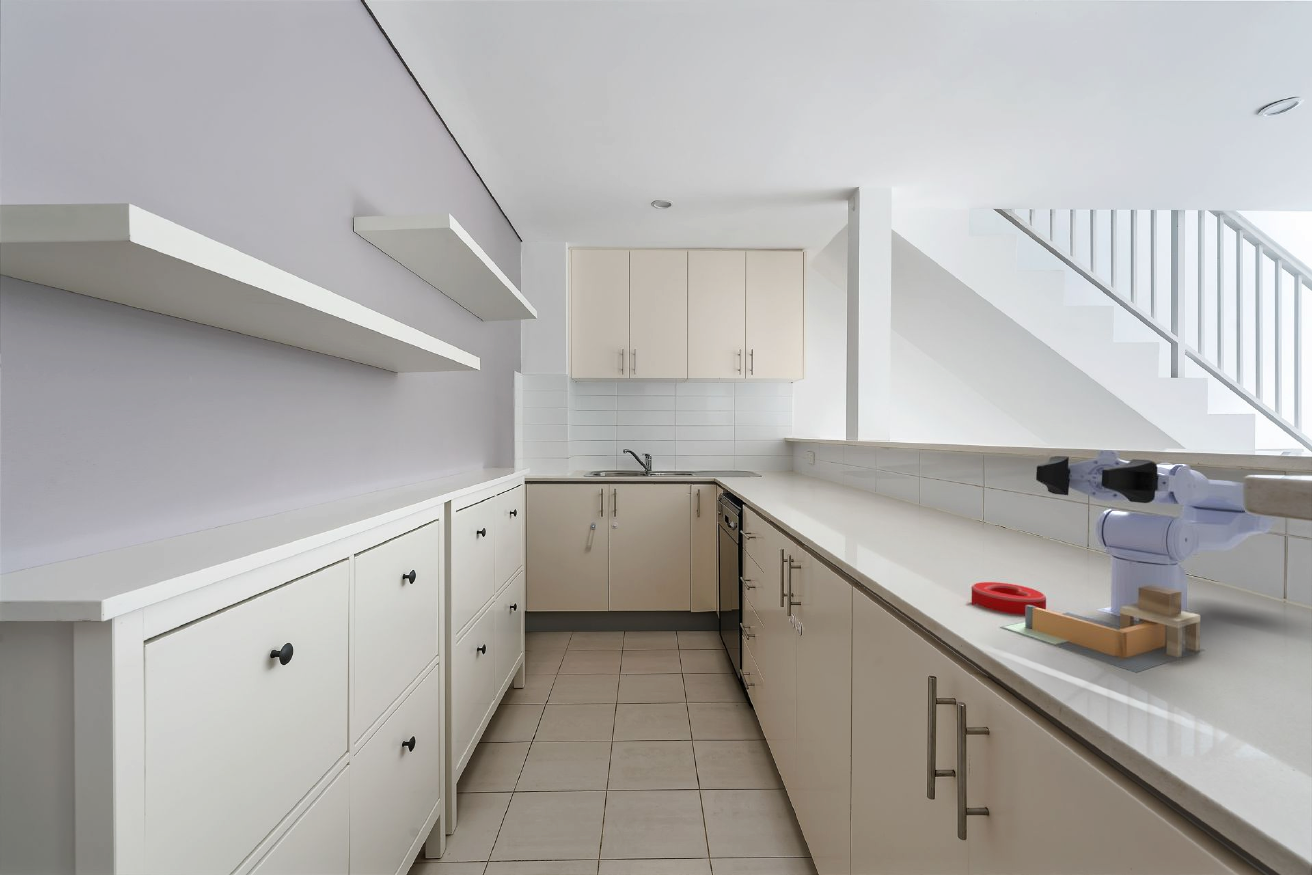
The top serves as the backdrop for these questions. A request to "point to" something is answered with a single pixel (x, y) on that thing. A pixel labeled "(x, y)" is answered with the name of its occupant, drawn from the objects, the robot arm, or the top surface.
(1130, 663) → the mat
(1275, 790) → the top surface
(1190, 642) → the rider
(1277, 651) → the top surface
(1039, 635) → the end pad
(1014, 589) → the decorative ornament
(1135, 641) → the rail
